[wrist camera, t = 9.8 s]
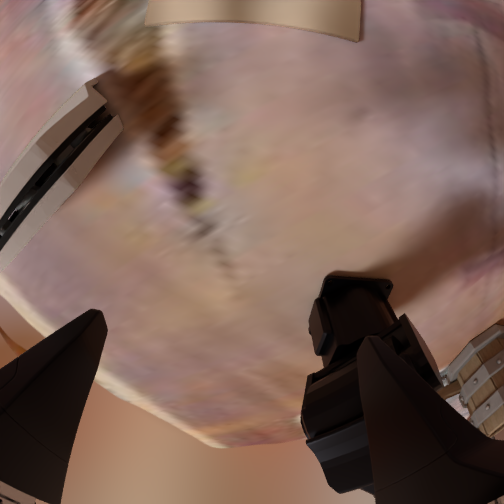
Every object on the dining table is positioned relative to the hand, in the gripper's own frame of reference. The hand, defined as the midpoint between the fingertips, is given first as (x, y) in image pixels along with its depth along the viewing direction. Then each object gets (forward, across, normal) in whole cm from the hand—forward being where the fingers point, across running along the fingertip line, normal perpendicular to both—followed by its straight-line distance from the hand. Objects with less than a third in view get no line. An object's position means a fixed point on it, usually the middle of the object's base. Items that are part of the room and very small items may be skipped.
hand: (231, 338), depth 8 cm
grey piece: (+12, +17, -2) cm, 21 cm away
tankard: (+12, -35, +20) cm, 42 cm away
